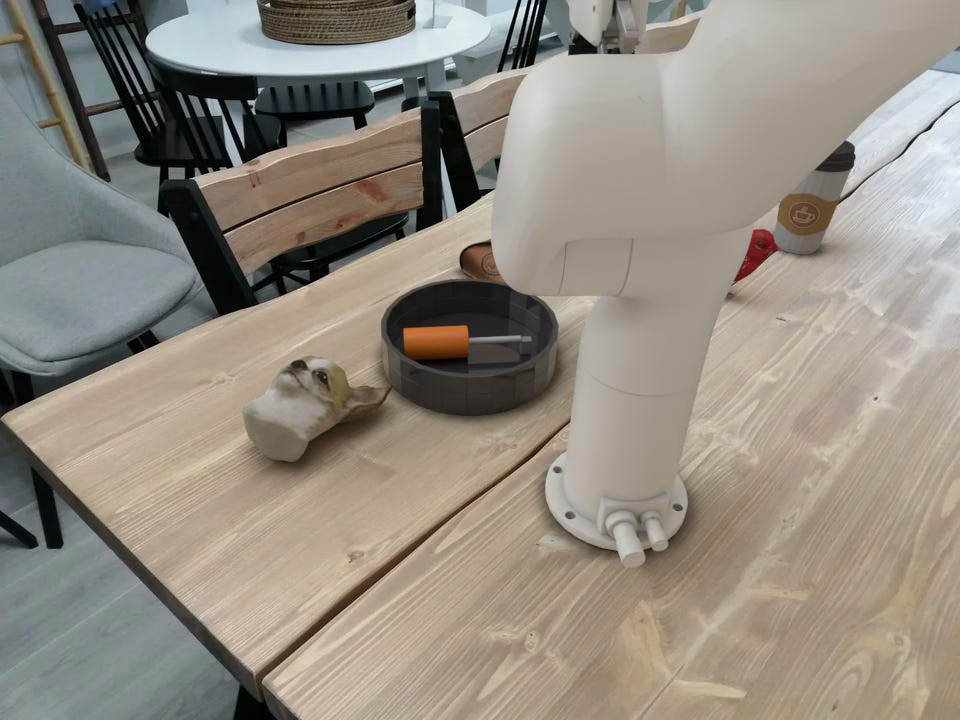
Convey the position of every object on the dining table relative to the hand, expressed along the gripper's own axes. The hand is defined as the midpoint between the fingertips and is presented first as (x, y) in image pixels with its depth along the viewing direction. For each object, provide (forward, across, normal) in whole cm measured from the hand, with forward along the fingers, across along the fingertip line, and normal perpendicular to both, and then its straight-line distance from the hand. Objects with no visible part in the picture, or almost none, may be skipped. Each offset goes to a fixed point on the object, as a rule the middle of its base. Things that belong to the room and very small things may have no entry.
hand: (593, 100), depth 73 cm
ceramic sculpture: (+27, -15, +30) cm, 43 cm away
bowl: (+27, -6, +13) cm, 30 cm away
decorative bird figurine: (+27, +6, -18) cm, 33 cm away
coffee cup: (+27, +16, -38) cm, 49 cm away
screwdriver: (+26, -5, +13) cm, 30 cm away
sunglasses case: (+27, +16, +2) cm, 32 cm away
